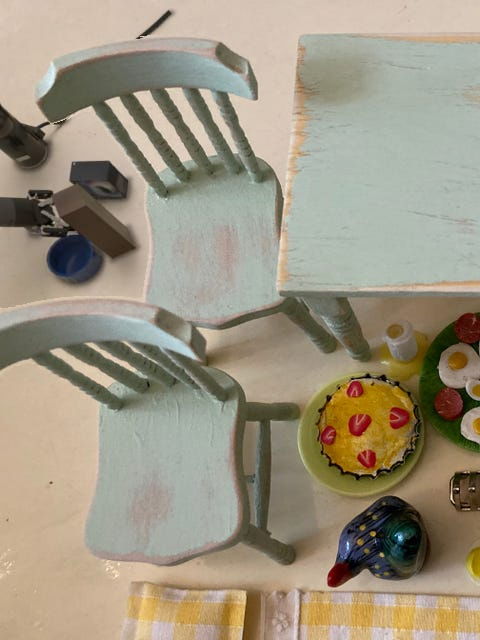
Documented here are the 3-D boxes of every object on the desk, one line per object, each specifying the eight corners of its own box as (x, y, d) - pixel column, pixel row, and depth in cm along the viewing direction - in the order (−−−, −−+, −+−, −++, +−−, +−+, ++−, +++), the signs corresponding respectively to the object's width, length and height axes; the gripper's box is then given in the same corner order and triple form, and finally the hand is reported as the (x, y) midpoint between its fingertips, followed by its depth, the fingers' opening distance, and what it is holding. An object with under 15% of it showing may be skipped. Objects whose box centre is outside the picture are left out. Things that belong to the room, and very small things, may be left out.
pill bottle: (42, 236, 193) (23, 222, 185) (27, 233, 193) (6, 219, 185) (49, 221, 194) (29, 206, 186) (33, 218, 195) (13, 203, 187)
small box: (89, 201, 196) (67, 181, 186) (92, 180, 198) (70, 160, 187) (126, 199, 196) (106, 180, 185) (128, 179, 197) (109, 159, 187)
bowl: (68, 237, 193) (58, 229, 188) (109, 247, 191) (100, 240, 187) (49, 277, 189) (38, 270, 185) (90, 288, 188) (81, 281, 184)
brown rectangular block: (104, 238, 192) (50, 195, 169) (127, 228, 193) (77, 183, 170) (112, 259, 190) (59, 217, 167) (136, 247, 191) (86, 205, 168)
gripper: (20, 225, 171) (89, 226, 183) (3, 180, 175) (73, 184, 187) (14, 243, 176) (82, 243, 188) (-2, 200, 179) (66, 203, 192)
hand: (77, 214), depth 188 cm, fingers open, 8 cm apart
